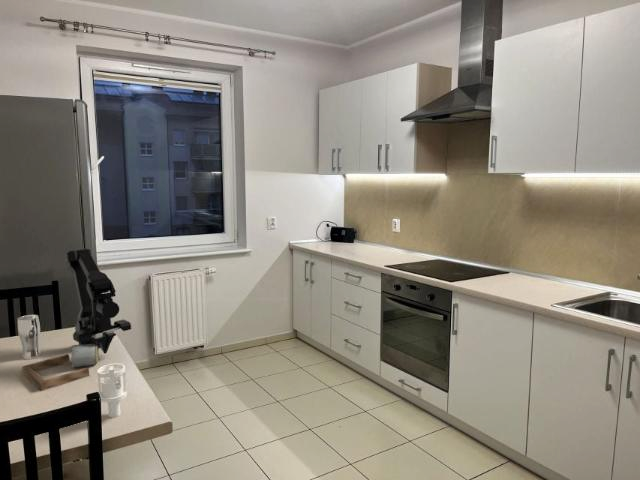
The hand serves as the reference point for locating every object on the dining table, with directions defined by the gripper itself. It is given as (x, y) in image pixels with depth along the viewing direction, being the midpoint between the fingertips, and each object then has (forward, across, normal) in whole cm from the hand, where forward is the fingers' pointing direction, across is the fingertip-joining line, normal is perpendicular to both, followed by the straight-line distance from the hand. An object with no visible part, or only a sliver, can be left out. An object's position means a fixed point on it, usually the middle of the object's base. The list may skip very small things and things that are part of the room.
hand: (104, 353), depth 171 cm
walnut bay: (+2, +16, 0) cm, 16 cm away
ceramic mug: (+3, +6, -2) cm, 7 cm away
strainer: (+3, +16, +41) cm, 44 cm away
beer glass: (+2, +16, -24) cm, 30 cm away
